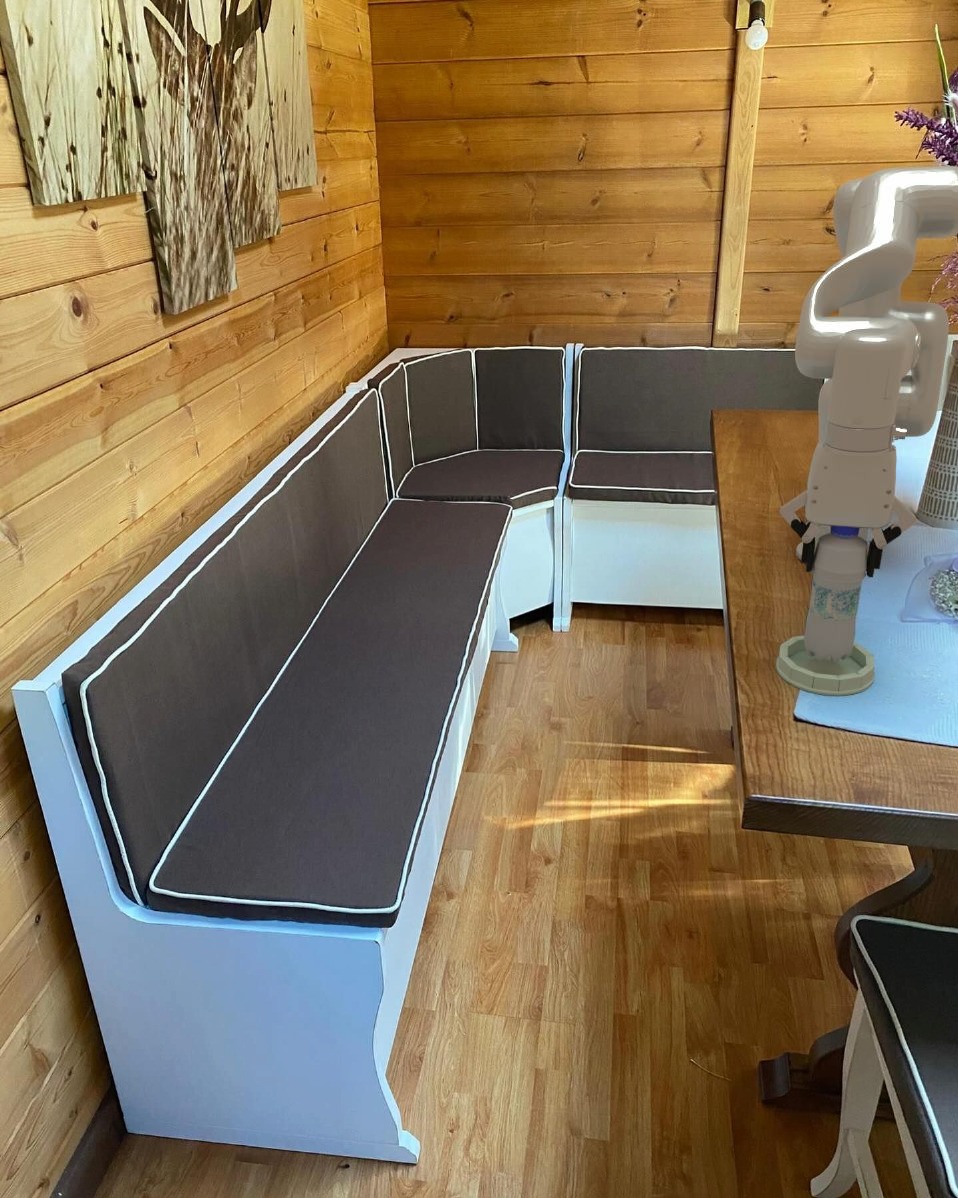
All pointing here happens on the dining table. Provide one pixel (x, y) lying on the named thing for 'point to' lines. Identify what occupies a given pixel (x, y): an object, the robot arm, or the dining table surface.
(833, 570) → the bottle
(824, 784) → the dining table surface
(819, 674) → the dish
